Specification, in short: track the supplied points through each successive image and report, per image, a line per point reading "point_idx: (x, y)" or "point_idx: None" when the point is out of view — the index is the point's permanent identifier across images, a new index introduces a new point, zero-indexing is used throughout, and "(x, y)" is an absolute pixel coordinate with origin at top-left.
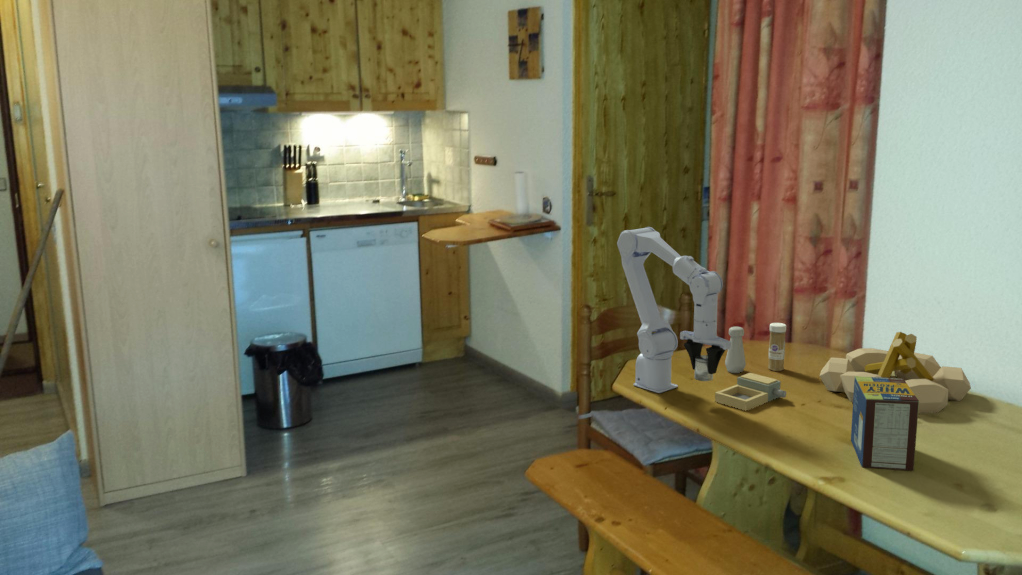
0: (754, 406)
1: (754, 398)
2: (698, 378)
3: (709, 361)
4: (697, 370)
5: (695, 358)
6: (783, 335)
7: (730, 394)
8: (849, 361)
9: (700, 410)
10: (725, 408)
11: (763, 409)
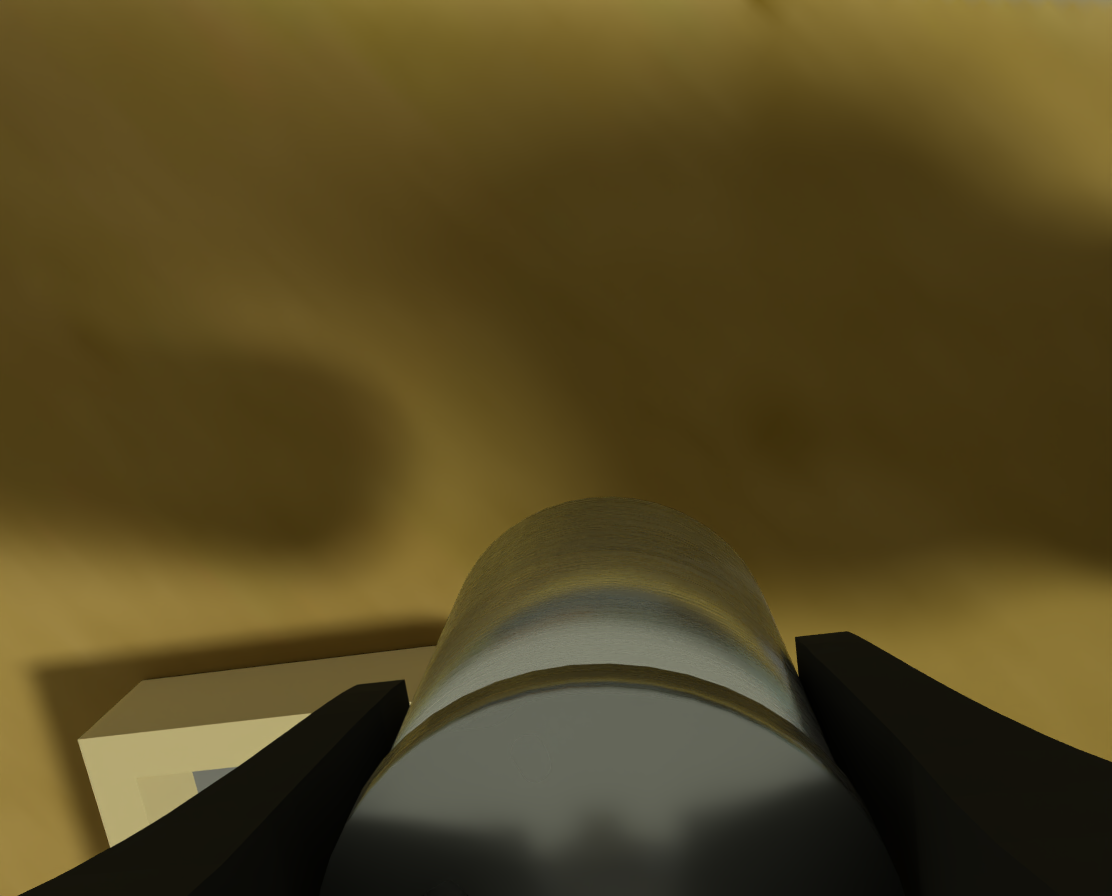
0: None
1: None
2: (575, 510)
3: (219, 821)
4: (606, 563)
5: (730, 719)
6: None
7: None
8: None
9: (418, 294)
10: (317, 573)
11: (101, 845)
